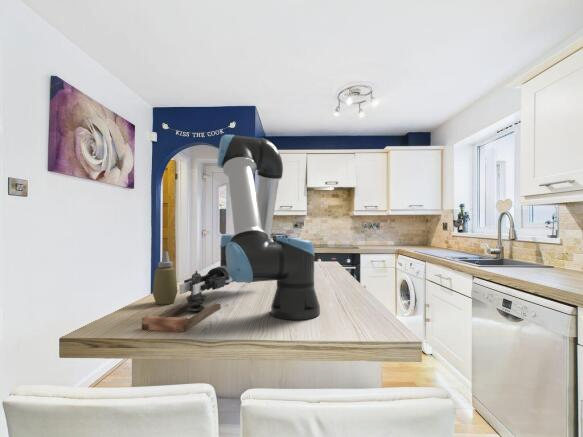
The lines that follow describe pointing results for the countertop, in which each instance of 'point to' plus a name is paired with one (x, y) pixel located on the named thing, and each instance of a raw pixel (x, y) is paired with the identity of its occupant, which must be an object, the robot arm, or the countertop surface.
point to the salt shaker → (195, 299)
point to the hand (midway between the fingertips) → (187, 289)
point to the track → (176, 319)
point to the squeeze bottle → (165, 282)
